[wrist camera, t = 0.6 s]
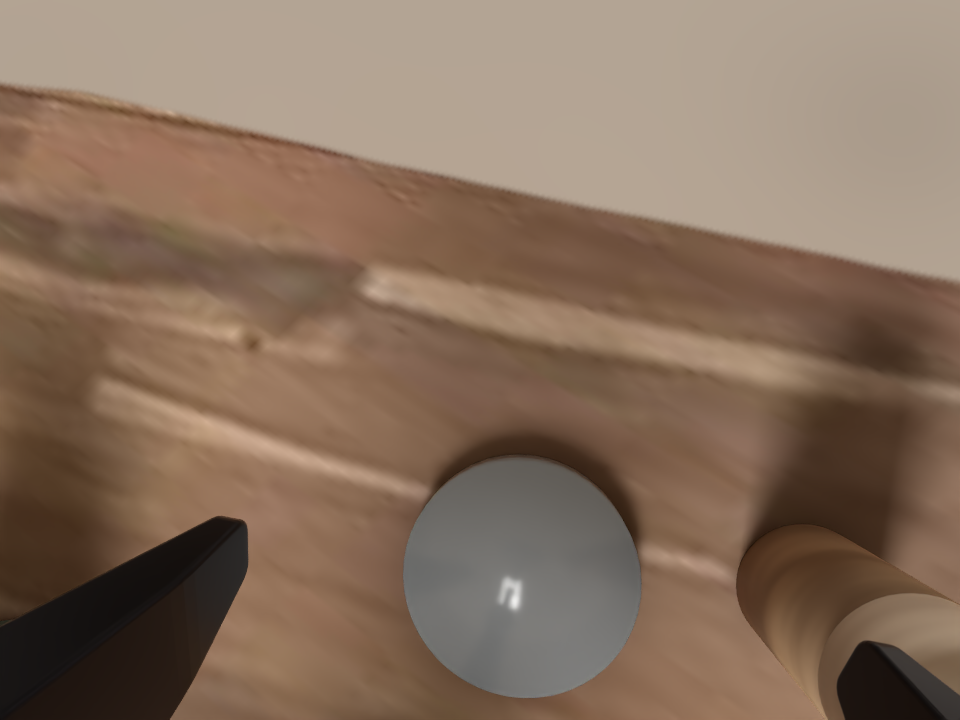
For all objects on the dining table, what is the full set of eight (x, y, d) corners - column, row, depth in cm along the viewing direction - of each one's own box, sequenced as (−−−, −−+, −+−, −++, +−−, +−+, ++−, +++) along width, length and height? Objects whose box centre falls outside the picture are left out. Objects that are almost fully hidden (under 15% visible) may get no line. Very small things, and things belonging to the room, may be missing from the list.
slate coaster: (523, 722, 23) (522, 747, 22) (367, 561, 24) (356, 575, 23) (683, 569, 23) (693, 584, 21) (517, 408, 23) (516, 411, 22)
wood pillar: (805, 679, 22) (1182, 1130, 9) (708, 585, 23) (941, 894, 10) (902, 590, 22) (1439, 934, 9) (802, 497, 22) (1178, 695, 9)
